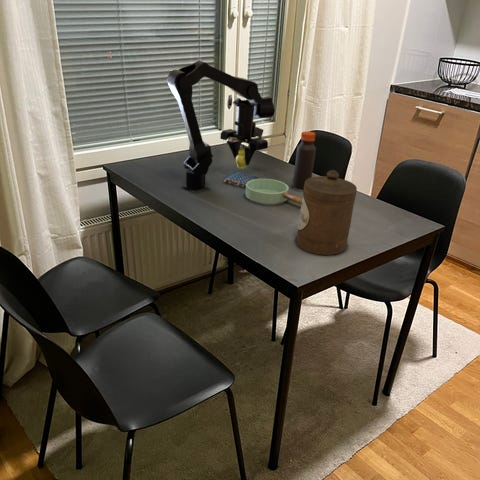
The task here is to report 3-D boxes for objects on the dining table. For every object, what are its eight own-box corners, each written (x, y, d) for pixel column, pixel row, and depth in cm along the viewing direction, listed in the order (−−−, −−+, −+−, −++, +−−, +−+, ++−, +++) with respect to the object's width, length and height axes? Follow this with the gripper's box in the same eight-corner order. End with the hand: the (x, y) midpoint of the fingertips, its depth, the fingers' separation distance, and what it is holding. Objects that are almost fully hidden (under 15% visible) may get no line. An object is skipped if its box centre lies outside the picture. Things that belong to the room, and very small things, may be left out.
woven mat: (246, 189, 180) (247, 184, 179) (222, 183, 184) (222, 177, 183) (259, 181, 188) (260, 176, 187) (235, 175, 192) (236, 170, 191)
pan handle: (309, 208, 163) (310, 203, 162) (281, 198, 169) (282, 192, 168) (313, 207, 164) (314, 201, 163) (285, 196, 170) (285, 191, 169)
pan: (268, 208, 166) (270, 197, 164) (236, 195, 174) (237, 184, 172) (295, 198, 176) (297, 187, 173) (264, 186, 184) (265, 175, 181)
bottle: (301, 192, 181) (308, 136, 170) (288, 186, 185) (295, 131, 174) (313, 189, 185) (322, 134, 173) (300, 183, 189) (308, 129, 178)
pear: (242, 170, 180) (243, 147, 175) (232, 166, 182) (233, 144, 178) (251, 167, 183) (253, 145, 178) (241, 164, 185) (243, 141, 181)
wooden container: (303, 229, 154) (314, 159, 141) (350, 239, 150) (365, 168, 138) (290, 248, 143) (300, 174, 130) (340, 260, 139) (355, 184, 126)
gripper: (280, 121, 173) (275, 165, 182) (241, 111, 183) (238, 153, 192) (259, 126, 166) (255, 171, 175) (220, 114, 176) (218, 158, 185)
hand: (242, 163), depth 182 cm, fingers closed on pear, 5 cm apart
